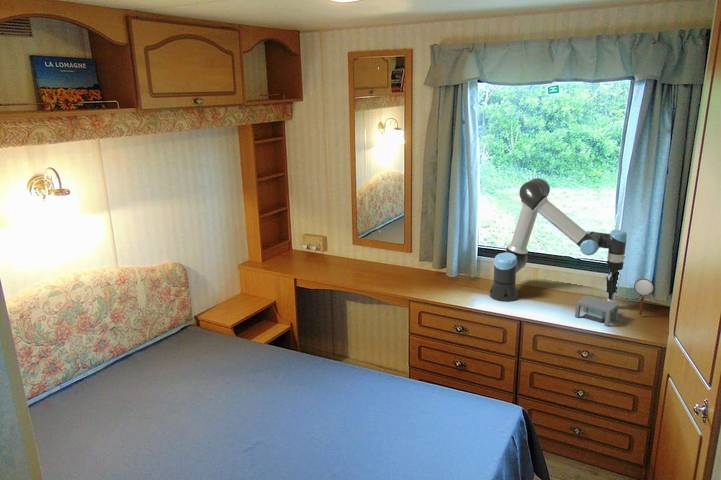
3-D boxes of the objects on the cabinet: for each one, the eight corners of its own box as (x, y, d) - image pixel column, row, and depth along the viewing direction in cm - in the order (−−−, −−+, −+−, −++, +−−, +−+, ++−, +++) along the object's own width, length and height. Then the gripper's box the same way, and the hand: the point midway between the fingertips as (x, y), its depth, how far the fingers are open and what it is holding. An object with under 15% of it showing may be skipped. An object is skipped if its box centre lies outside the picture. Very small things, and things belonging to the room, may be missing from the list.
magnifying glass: (649, 317, 260) (655, 279, 254) (649, 319, 258) (655, 280, 253) (630, 314, 264) (635, 276, 259) (629, 315, 263) (635, 277, 257)
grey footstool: (574, 317, 262) (576, 301, 260) (584, 310, 270) (586, 295, 268) (607, 326, 252) (609, 310, 249) (617, 319, 259) (619, 303, 257)
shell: (596, 310, 269) (597, 299, 267) (610, 314, 264) (612, 303, 263) (586, 318, 261) (588, 306, 259) (601, 322, 256) (602, 310, 255)
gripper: (617, 265, 258) (612, 310, 265) (628, 259, 267) (622, 302, 273) (602, 262, 263) (597, 306, 270) (613, 256, 272) (608, 298, 278)
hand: (610, 304), depth 271 cm, fingers closed
